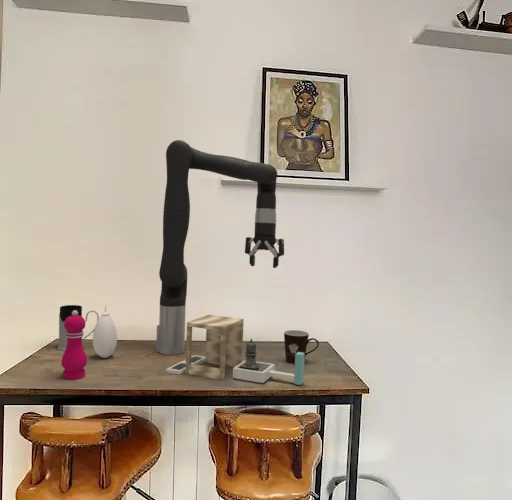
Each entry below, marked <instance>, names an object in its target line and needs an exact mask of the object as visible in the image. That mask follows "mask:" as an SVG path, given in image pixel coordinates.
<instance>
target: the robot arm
mask: <svg viewBox="0 0 512 500" xmlns="http://www.w3.org/2000/svg"><path fill="white" fill-rule="evenodd" d="M165 151H166V152H165V161H166V184H165V185H166V186H165V192H164V203H163V214H162V240H163V241H162V255H161V260H160V266H159V271H158V275H159V279H160V282H161V292H160V297H159V321H158V322H159V323H158V324H157V325H156V343H155V344H156V347H155V352H157V353H160V354H161V355H169V356H171V355H172V356H174V355H181V354H183V353H185V347H186V346H185V345H186V344H185V339H186V337H185V335H186V306H187V305H186V304H187V303H186V302H187V294H188V292H187V291H188V290H187V289H188V268H187V266H186V264H185V255H184V253H185V245H186V241H187V237H188V232H189V231H188V230H189V227H190V226H189V225H190V214H191V213H190V212H191V202H190V200H191V199H190V191H189V171H190V170H199V171H200V170H201V171H206V172H211V173H214V174H218V175H221V176H226V177H230V178H233V179H238V180H242V181H243V180H244V181H252V182H255V183H256V184H257V185H256V188H257V195H256V201H255V203H256V205H255V214H254V236H253V237H251V236H247V237H245V242H244V243H245V244H244V245H245V246H244V254H247V255H248V256H249V260H248V261H249V265H250V266H251V267H255V265H256V253H257V252H258V251H270V253H271V254H272V255H273V259H272V260H273V261H272V268H274V269H277V267H278V266H279V258H280V257H282V256H284V255H285V240H284V238H279V239H278V238H276V231H277V229H276V228H277V212H276V211H277V195H276V190H277V178H278V170H277V168H275V167H274V166H273V165H271V164H267V163H264V162H258V161H257V162H256V161H250V160H247V159H243V158H239V157H233V156H228V155H223V154H221V155H220V154H213V153H208V152H206V151H205V152H204V151H200V150H199V149H196V148H194V147H192V146H190V144H189V143H187V142H186V141H184V140H181V139H176V140H173V141H172V142H171V143H169V144H168V146H167V148H166V150H165ZM253 243H254V246H253V247H252V244H253ZM275 244H277V246H278V251H277V248H276V247H275ZM251 247H252V248H251Z"/></svg>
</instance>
